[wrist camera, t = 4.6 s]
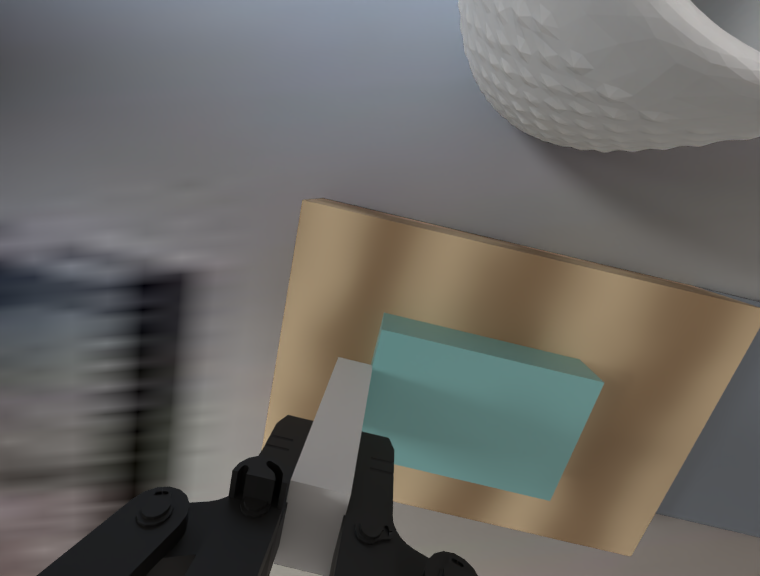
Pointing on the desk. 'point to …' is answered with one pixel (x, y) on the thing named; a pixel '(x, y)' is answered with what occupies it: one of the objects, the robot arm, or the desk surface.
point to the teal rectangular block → (477, 406)
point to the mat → (725, 456)
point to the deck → (526, 328)
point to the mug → (619, 69)
